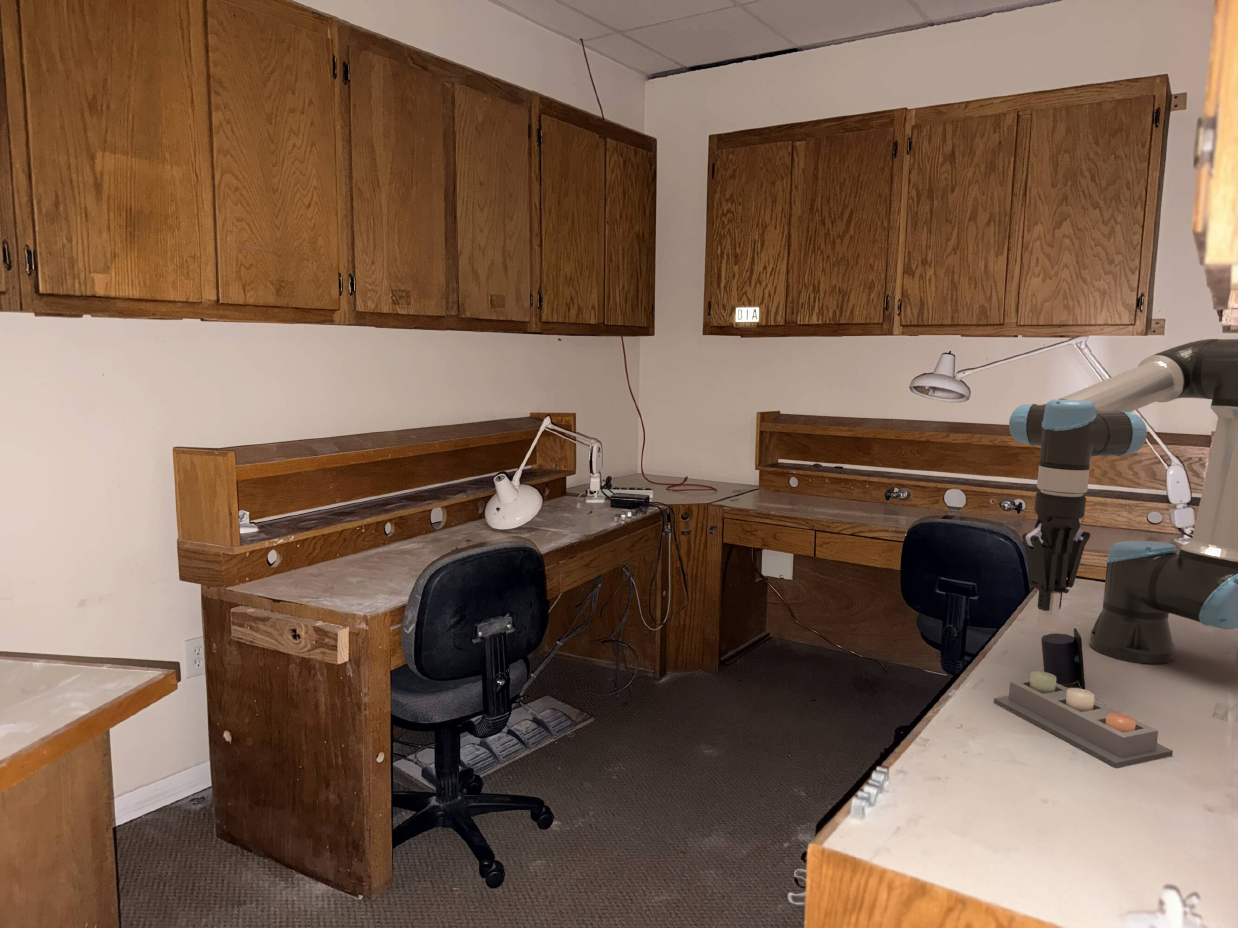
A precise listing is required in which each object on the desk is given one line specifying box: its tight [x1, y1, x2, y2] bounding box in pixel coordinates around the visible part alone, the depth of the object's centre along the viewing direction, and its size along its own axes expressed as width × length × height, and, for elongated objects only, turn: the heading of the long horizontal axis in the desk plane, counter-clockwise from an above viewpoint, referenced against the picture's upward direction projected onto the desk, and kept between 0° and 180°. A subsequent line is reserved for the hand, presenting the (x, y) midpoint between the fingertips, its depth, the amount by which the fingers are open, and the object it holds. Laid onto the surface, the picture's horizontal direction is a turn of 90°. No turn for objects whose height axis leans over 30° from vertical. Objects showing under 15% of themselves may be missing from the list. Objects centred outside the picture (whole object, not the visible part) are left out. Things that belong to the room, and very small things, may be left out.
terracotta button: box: [1105, 712, 1136, 733], centre depth 131 cm, size 4×4×4 cm
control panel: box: [993, 678, 1174, 769], centre depth 138 cm, size 24×12×4 cm, turn 20°
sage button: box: [1029, 670, 1056, 694], centre depth 145 cm, size 4×4×4 cm
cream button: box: [1066, 687, 1095, 712], centre depth 138 cm, size 4×4×4 cm
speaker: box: [1040, 627, 1086, 690], centre depth 156 cm, size 8×6×10 cm
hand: (1046, 627), depth 143 cm, fingers closed
